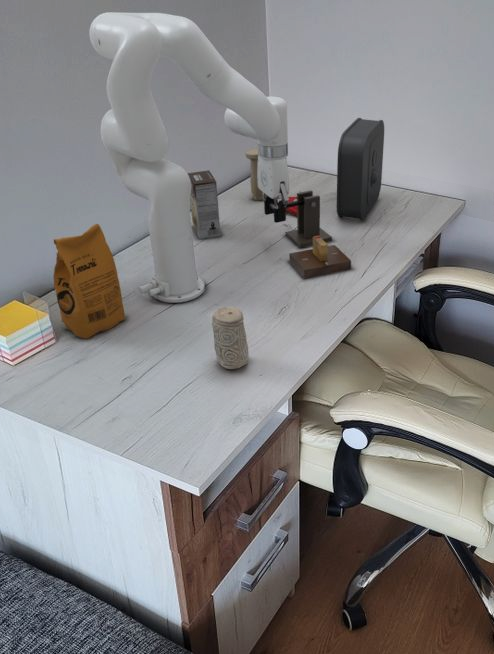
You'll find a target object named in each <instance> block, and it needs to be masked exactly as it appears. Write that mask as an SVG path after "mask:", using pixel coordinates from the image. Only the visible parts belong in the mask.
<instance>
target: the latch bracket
mask: <svg viewBox="0 0 494 654" xmlns="http://www.w3.org/2000/svg"><path fill="white" fill-rule="evenodd" d="M306 195H312V197H306V198H304V206H303V205H299V206H297V215H296V219H297V220H296V221H297V225H296V226H297V227H296V229H292V230H288V231H285V232H284V233H285V234H284V235H285V237H286V238H287V239H288V240H289V241H291V242H292V243H293V244H294V245H296V247H298V248H299V249H304V248H308V247H311V246H312V247H313V236H318V235H319V236H320V237H321V238H322V239H323V240H324V241H325V242H326V243H330V242H333V236H331V235H330V234H329V233H328V232H326V231H325V230H324V229H322V228H321V196H320V195H318V194H317V195H314V191H313V190H306V191H301V192H300V193H299V192H297V193H296V197H297V201H298V200H302V196H306Z"/></svg>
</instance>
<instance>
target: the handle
mask: <svg viewBox="0 0 494 654" xmlns="http://www.w3.org/2000/svg"><path fill="white" fill-rule="evenodd" d="M245 157H246V159H248V160H250V190H251V194H252V195H251V196H252V200H254V201H261V200H263V199H264V198H263V194H264V193H263V192H262V191H261V190H260V189H259V188H258V182H257V166H258V147H256V148H251V149H248V150H247V151H245Z"/></svg>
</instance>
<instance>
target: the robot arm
mask: <svg viewBox="0 0 494 654" xmlns="http://www.w3.org/2000/svg"><path fill="white" fill-rule="evenodd" d="M199 27H200V26H198V25H197V24H196V23H195V22H194V21H193V20H191V19H190V18H188V17H185V16H181V15H174V14H169V13H164V12H118V11H117V12H114V11H113V12H111V11H108V12H103V13H100V14H99V15H97V16H96V17H95V18H94V19H93V20H92V22H91V23H90V26H89V32H88V33H89V40H90V44H91V46H92V47H93V49H94V50H95V51H96V53H97V54H98V55H100V57H103V58H105V59H106V60H111V61H112V62H111V66H110V69H109V72H108V75H107V80H106V86H105V87H106V95H107V100H108V102H109V105H110V107H111V108H110V109H109V110H107V112H105V114H104V115H103V117H102V119H101V123H100V137H101V142H102V144H103V146H104V149H105V151H106V153H107V155H108V158H109V161H110V162H111V164H112V167H113V168H114V171H115V173H116V175H117V177H118V179H119V181H120V182H121V184H122V185H123V186H124V188H125V189H126V190H128V191H129V192H130V193H132V194H134V195H136V196H138V197H141V198H143V199H145V200H147V201H149V202H150V210H149V213H148V216H147V226H148V227H147V228H148V233H149V240H150V245H151V246H150V247H151V252H152V259H153V265H154V273H155V275H152V276H151V281H149V283H146V284H143V285H141V286H139V287H138V288H137V289H138V292H139V294H140V295H142V296H143V295H146V294H149V295H150V296H151V297H153V298H155V299H156V300H158V301H161V302H164V303H173V304H175V303H176V304H177V303H185V302H189V301H192V300H194V299H197V298H198V297H200V296H201V295H202V294H203V293H204V292H205V286H206V285H205V282H204V280H203V279H202V278H201V277H199V276H198V275H197V274H198V273H197V265H196V256H195V247H194V238H193V237H194V236H193V229H192V221H191V220H192V218H191V203H190V198H191V181H190V178H189V175H188V174H187V173H188V172H187V171H186V170H185V169H184V168H183V167H182V166H180V165H179V164H177V163H175V162H172V161H171V160H168V159H165V157H166V155H167V153H168V151H169V146H170V142H169V141H170V140H169V137H168V133H167V130H166V127H165V125H164V122H163V119H162V118H161V114H160V111H159V109H158V107H157V104H156V102H155V99H154V96H153V92H152V86H151V83H152V77H153V73H154V70H155V68H156V66H157V64H158V61H159V60H160V58H162V59H166V60H169V61H171V63H173V64H174V65H175V66H176V67H177V68H178V69H179V70H180V71H181V73H182V74H183V75H184V76H185V77H186V78H187V79H188V80H189V81H190V82H191V83H192V85H193V86H194V87H195V88H196V90H197V91H198V92H199V93H200V94H202V95H203V96H204V97H206V98H207V99H209V100H210V101H212V102H214V103H216V104H218V105H221V106H223V107H225V108H226V109H225V112H224V116H223V120H224V124H225V126H226V128H228V130H230V131H231V132H232V133H234V134H237V135H240V136H243V137H247V138H251V139H253V140H257V148H258V166H257V182H258V188H259V189H260V190H261V191H262V192H263V198H262V199H263V206H264V207H263V209H264V210H263V211H264V215H265V216H268V215H273V222H274V223H276V224H278V223H283V222H286V220H287V210H286V204H287V203H288V202H289V198H288V197H289V194H290V176H289V166H288V156H289V138H288V137H289V136H288V135H289V134H288V105H287V101H286V100H285V99H284V98H282V97H279V96H274V95H273V96H270V95H269V96H266V95H265V93H263V91H261V90H260V89H259V88H258V87H257V86H256V85H255V84H253V83H252V82H250V81H249V80H248V79H247V78H246V77H244V76H243V74H241V73H240V72H238V71H237V70H236V69H234V68H233V67H231V65H230V64H229V63H228V62H227V61H226V60H225V59H224V57H223V56H222V55H221V54H220V53H219V52H218V50H217V49H216V48H215V46H214V45H213V43H212V42H211V40H209V39H208V37H207V36H206V34H204V32H203V31H202V30H201V28H199ZM279 199H281V200H279ZM271 202H272V203H273V204H274V205H275V208H274V210H273V209H272V208H271V207H270V206H269V203H271Z"/></svg>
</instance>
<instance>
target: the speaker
mask: <svg viewBox="0 0 494 654" xmlns="http://www.w3.org/2000/svg"><path fill="white" fill-rule="evenodd" d="M384 144H385V123H384V120H383V119H379V120H374V119H365V118H364V119H363V118H362V117H357V118H356V119H355V120H354V121H353V122H352V123H351V124H350V125H349V126H348V127H346V129H345V130H344V131H343V132H342V134H341V135H340V139H339V143H338V148H337V162H336V163H337V168H336V169H337V170H336V215H337V217H338V218H340V219H343V218H347V219H348V218H349V219H355V220H356V219H357V220H360V221H365V220H366V218H367V217H368V216H369V214H370V212H371V211H372V209H373V208H374V206H375V205H376V203H377V202H378V199H379V197H380V193H381V189H382V179H383V161H384V147H385V145H384Z"/></svg>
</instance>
